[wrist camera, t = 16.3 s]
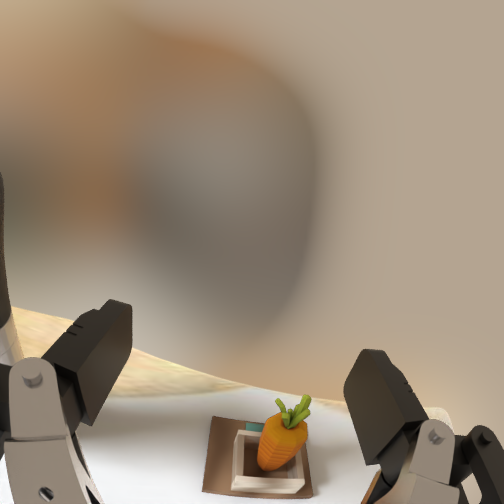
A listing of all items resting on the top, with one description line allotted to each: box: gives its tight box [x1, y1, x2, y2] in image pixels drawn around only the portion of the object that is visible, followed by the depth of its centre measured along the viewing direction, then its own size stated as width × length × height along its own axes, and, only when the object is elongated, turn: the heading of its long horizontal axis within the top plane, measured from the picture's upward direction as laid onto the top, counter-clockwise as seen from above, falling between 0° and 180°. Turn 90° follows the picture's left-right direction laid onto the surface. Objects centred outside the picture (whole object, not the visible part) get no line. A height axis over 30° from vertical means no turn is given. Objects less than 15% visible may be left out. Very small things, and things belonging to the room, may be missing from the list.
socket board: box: [202, 416, 313, 499], centre depth 30 cm, size 14×13×5 cm
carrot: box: [257, 395, 312, 471], centre depth 26 cm, size 5×5×15 cm
